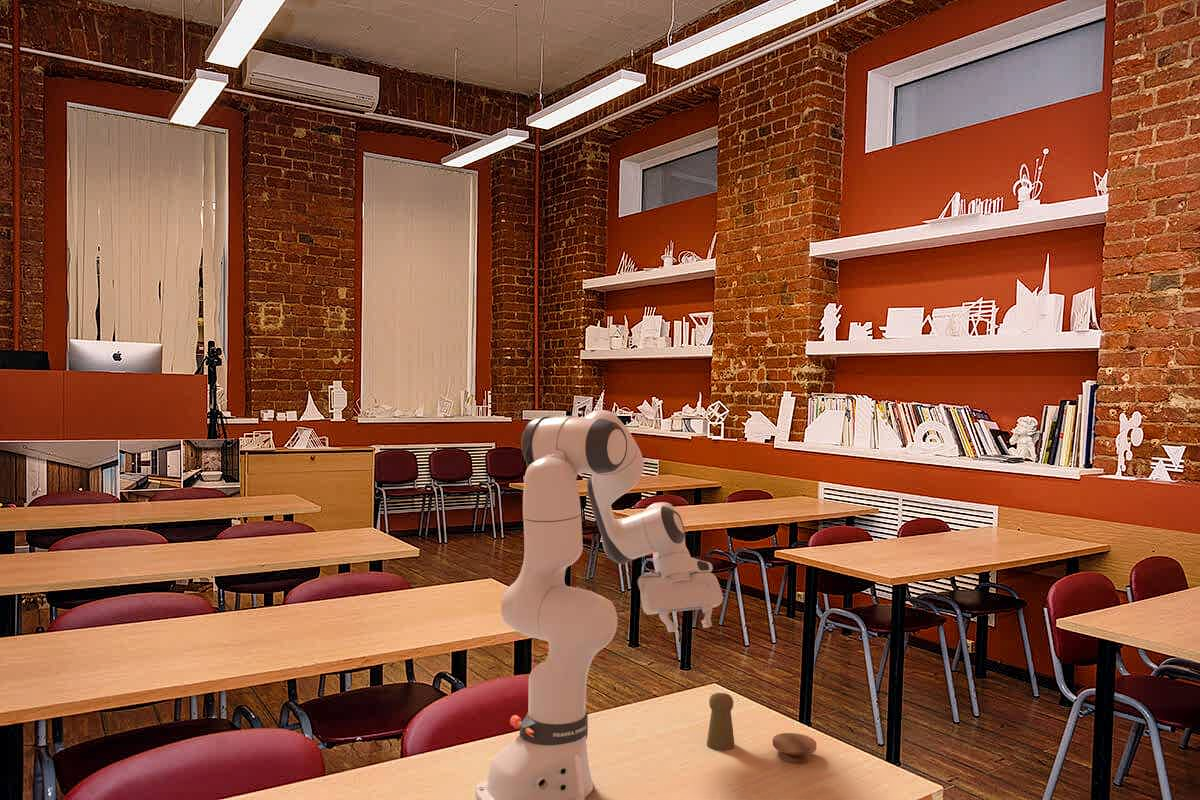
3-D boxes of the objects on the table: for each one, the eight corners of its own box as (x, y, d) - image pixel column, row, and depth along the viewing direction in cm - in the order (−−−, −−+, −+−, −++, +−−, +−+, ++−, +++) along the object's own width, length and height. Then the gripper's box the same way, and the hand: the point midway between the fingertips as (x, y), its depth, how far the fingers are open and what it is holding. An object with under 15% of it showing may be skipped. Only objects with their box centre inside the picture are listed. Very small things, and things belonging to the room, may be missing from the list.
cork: (734, 752, 183) (734, 700, 183) (705, 749, 184) (706, 698, 184) (735, 740, 189) (736, 690, 189) (707, 738, 190) (708, 688, 190)
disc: (793, 769, 175) (793, 754, 175) (763, 752, 183) (763, 738, 183) (825, 759, 180) (825, 745, 180) (795, 744, 188) (795, 729, 187)
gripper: (642, 569, 195) (657, 629, 188) (717, 563, 204) (734, 620, 198) (630, 578, 200) (644, 638, 193) (704, 572, 209) (720, 628, 203)
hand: (690, 629), depth 196 cm, fingers open, 8 cm apart
